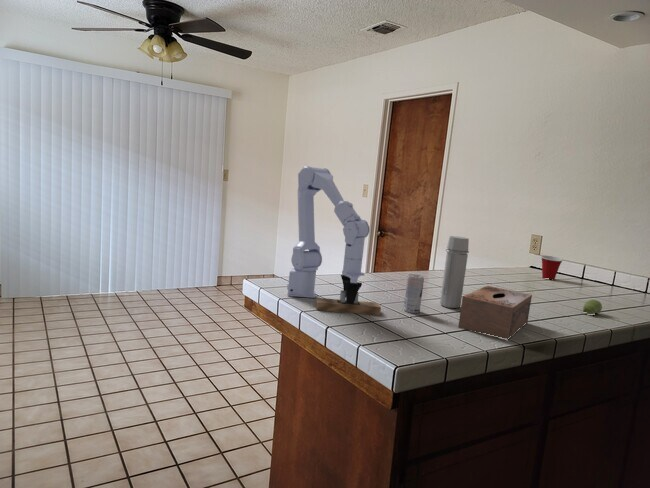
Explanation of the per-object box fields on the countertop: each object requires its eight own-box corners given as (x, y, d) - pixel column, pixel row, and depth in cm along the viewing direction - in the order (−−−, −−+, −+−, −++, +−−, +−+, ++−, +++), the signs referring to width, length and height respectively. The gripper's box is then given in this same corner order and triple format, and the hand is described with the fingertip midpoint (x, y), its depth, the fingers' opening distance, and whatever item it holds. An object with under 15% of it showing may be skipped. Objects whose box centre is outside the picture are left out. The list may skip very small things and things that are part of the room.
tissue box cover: (507, 341, 128) (512, 307, 127) (458, 328, 137) (462, 296, 135) (527, 324, 149) (532, 294, 148) (483, 313, 158) (487, 285, 156)
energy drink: (420, 310, 152) (425, 275, 150) (418, 314, 147) (423, 278, 145) (404, 307, 153) (409, 273, 152) (402, 311, 148) (406, 275, 147)
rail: (316, 309, 140) (317, 302, 140) (316, 305, 146) (316, 297, 145) (380, 315, 142) (381, 307, 141) (377, 310, 147) (378, 302, 147)
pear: (605, 300, 172) (596, 307, 166) (603, 313, 174) (594, 320, 167) (589, 296, 176) (579, 303, 170) (587, 309, 178) (578, 316, 171)
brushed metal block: (339, 310, 142) (341, 292, 141) (338, 308, 145) (340, 290, 144) (356, 311, 143) (358, 293, 142) (355, 309, 145) (357, 291, 144)
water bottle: (445, 302, 167) (454, 235, 164) (464, 307, 162) (474, 239, 158) (432, 305, 161) (441, 236, 157) (451, 311, 155) (461, 239, 152)
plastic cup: (540, 279, 238) (544, 257, 237) (534, 275, 249) (538, 254, 247) (562, 282, 237) (566, 260, 235) (555, 278, 247) (559, 257, 246)
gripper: (369, 263, 134) (364, 307, 136) (362, 255, 149) (358, 295, 151) (346, 261, 134) (341, 305, 136) (341, 253, 148) (337, 293, 150)
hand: (348, 300), depth 143 cm, fingers open, 7 cm apart
